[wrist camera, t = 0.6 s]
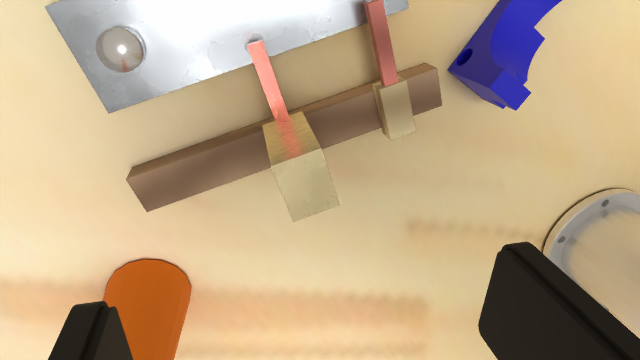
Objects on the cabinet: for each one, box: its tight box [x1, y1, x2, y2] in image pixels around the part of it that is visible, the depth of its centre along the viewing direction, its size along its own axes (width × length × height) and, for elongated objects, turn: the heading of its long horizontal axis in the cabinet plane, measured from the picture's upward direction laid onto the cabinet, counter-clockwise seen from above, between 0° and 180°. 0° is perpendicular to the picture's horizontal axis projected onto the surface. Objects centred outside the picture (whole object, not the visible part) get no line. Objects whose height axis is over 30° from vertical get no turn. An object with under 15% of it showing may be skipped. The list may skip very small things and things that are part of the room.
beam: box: [126, 0, 442, 212], centre depth 28 cm, size 10×24×4 cm, turn 107°
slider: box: [247, 39, 340, 222], centre depth 24 cm, size 10×3×7 cm, turn 17°
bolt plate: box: [45, 0, 409, 113], centre depth 25 cm, size 7×22×2 cm, turn 107°
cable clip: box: [448, 0, 562, 110], centre depth 28 cm, size 12×4×6 cm, turn 145°
